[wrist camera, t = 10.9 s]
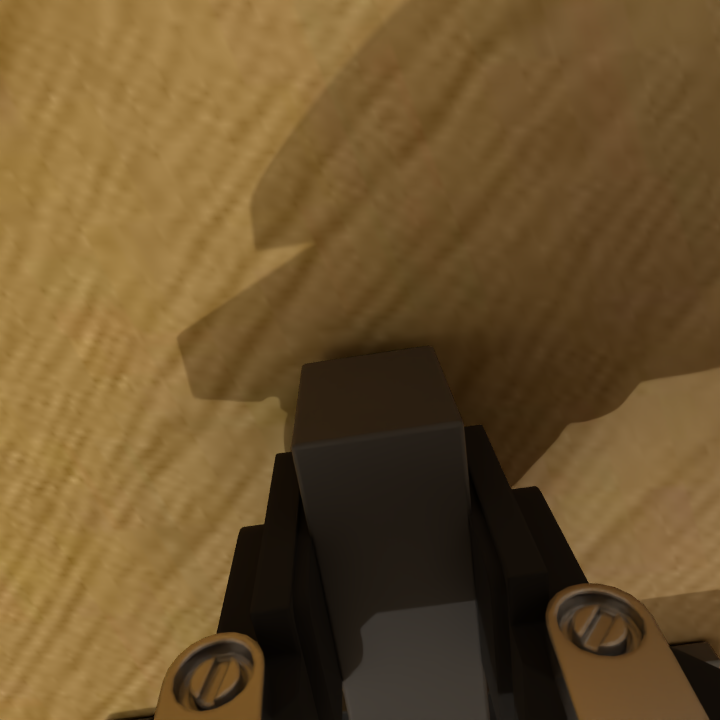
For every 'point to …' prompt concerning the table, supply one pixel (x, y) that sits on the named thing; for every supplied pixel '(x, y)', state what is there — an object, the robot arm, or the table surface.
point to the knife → (392, 533)
